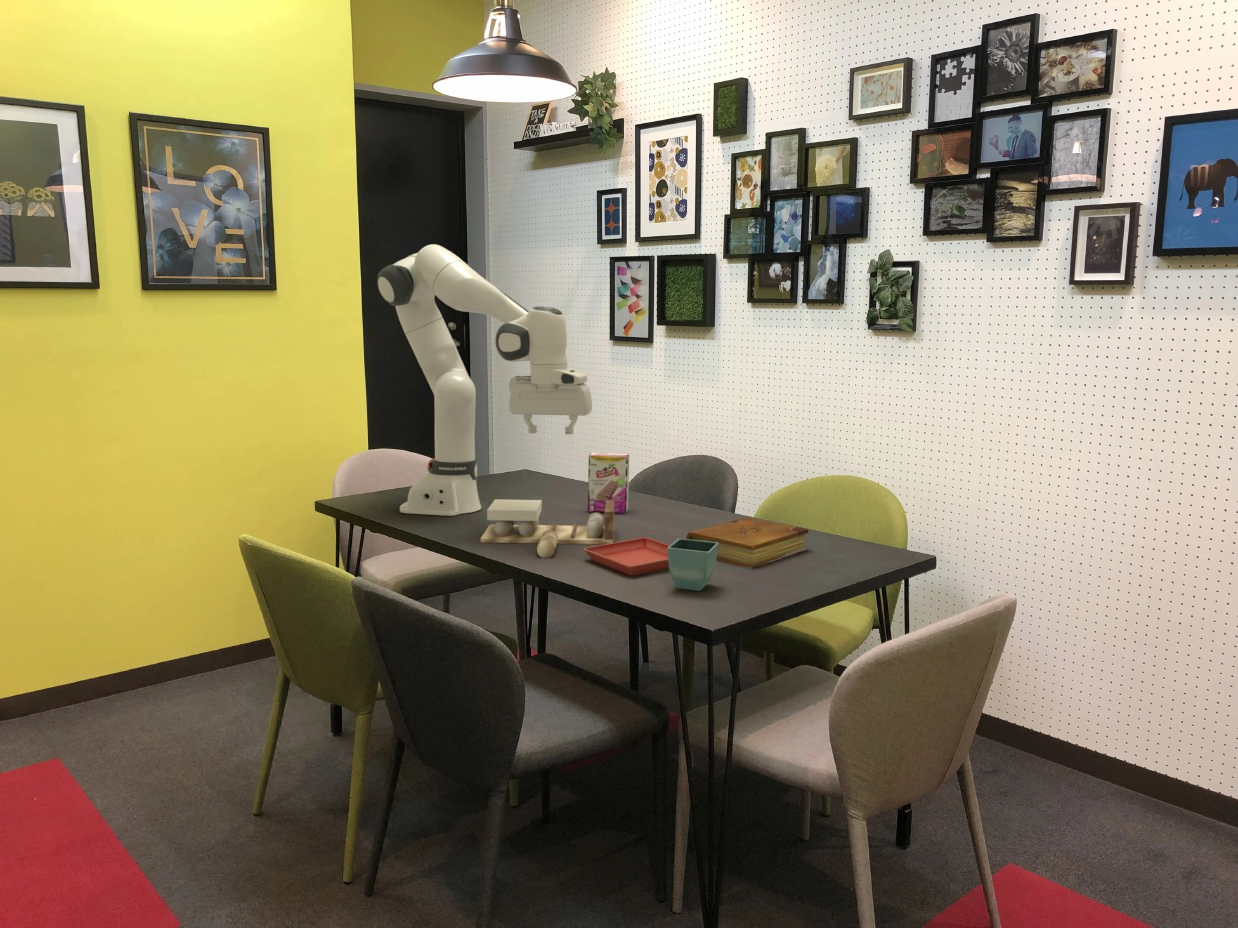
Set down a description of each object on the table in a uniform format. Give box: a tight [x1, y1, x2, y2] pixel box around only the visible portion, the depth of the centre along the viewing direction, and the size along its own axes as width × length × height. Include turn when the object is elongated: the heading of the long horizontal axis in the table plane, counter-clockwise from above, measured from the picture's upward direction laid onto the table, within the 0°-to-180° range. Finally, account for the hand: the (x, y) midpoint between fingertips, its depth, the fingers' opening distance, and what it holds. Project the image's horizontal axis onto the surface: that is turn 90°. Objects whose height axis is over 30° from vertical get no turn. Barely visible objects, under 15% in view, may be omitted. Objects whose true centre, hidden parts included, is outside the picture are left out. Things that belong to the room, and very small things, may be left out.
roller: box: [536, 530, 558, 559], centre depth 217 cm, size 4×11×4 cm, turn 179°
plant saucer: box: [583, 537, 671, 576], centre depth 208 cm, size 18×18×3 cm
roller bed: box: [480, 500, 615, 545], centre depth 232 cm, size 32×15×8 cm, turn 89°
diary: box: [686, 517, 810, 569], centre depth 220 cm, size 23×19×6 cm
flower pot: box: [667, 538, 719, 592], centre depth 190 cm, size 9×9×9 cm
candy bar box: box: [587, 452, 630, 514], centre depth 261 cm, size 11×5×16 cm, turn 84°
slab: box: [486, 499, 543, 522], centre depth 232 cm, size 12×13×2 cm
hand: (550, 433), depth 223 cm, fingers open, 8 cm apart
